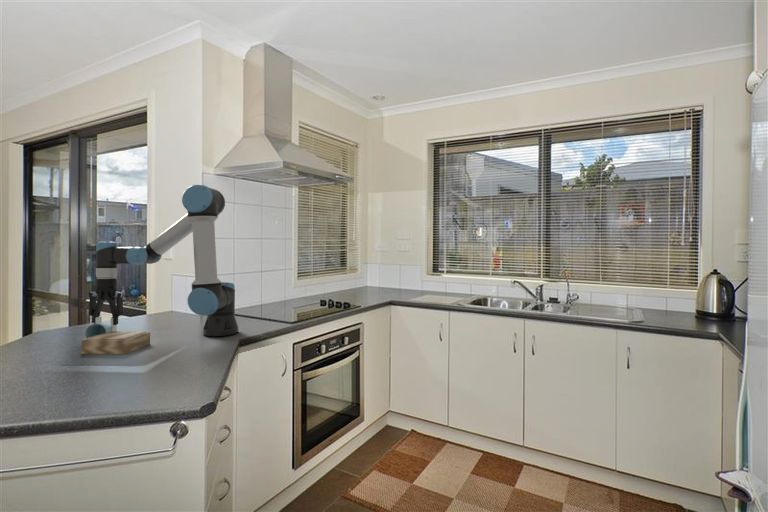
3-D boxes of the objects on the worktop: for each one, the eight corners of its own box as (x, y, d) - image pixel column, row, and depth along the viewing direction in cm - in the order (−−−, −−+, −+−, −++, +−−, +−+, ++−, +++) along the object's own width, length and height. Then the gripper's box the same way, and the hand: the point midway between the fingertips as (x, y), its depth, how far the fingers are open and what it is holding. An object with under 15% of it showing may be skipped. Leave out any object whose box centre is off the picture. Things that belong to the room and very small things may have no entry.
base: (150, 344, 169) (150, 331, 169) (125, 354, 153) (125, 339, 153) (110, 343, 169) (110, 330, 169) (81, 353, 153) (81, 339, 153)
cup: (118, 336, 180) (108, 339, 170) (99, 341, 179) (87, 345, 169) (114, 319, 180) (103, 321, 170) (94, 324, 179) (82, 327, 169)
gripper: (133, 277, 182) (133, 331, 183) (90, 277, 182) (90, 330, 183) (123, 278, 175) (122, 334, 175) (78, 278, 175) (77, 333, 175)
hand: (105, 332), depth 179 cm, fingers closed on cup, 6 cm apart
